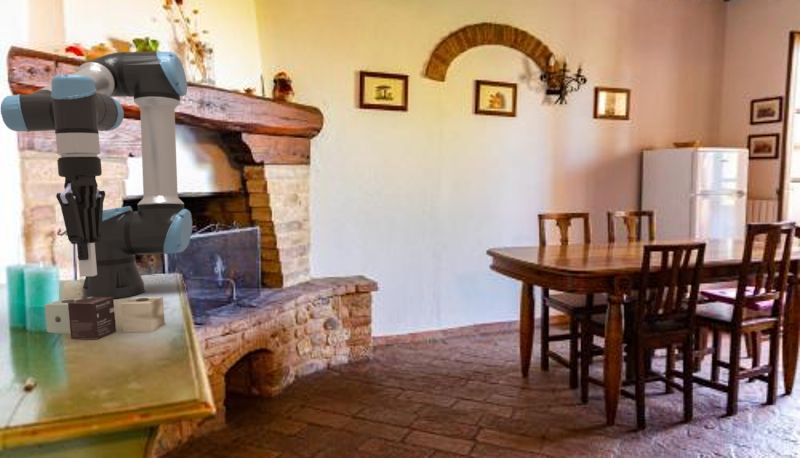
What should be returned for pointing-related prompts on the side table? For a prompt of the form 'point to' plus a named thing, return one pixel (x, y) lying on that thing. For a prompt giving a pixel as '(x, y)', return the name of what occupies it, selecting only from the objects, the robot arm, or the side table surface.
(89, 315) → the box
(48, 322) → the sage block partly covered
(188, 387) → the side table surface
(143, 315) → the beech block marked
